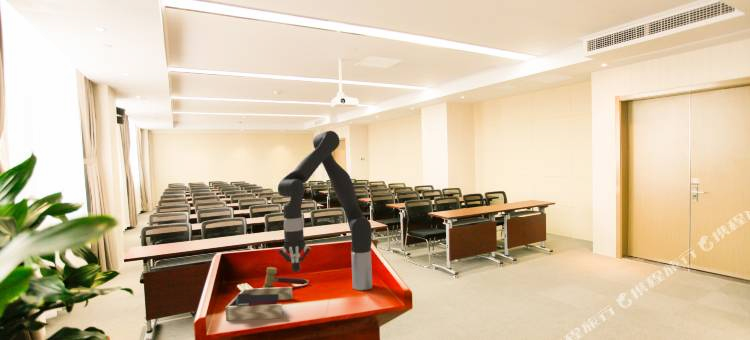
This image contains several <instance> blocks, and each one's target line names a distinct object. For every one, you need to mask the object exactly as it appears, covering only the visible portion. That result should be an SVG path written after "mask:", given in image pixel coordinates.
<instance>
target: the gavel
mask: <svg viewBox="0 0 750 340" xmlns="http://www.w3.org/2000/svg"><path fill="white" fill-rule="evenodd" d="M277 272H278V269H277V267H272V266H269V267H268V266H267V268H266V275H265V280H264V284H263V286H262V288H275V287H274V284H275V283H280V284H281V283H282V284H293V285H307V284H310V281H309V280H306V279H304V278H297V277H295V278H294V277H283V276H276V274H277Z"/></svg>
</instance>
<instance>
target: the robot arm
mask: <svg viewBox="0 0 750 340" xmlns="http://www.w3.org/2000/svg"><path fill="white" fill-rule="evenodd" d="M312 143H313V148H314V150H313V151H311V153H309V154H307V156H305V158H303V159H302V160H301V161H300V163H299V164H297V166H296V167H295V168H294V170H293V171H291V172H290V173H288V174H287V175H286V176H284V177H283V178H282V179H281V180H280V181H279V183H278V186H277V191H278V194H279V195H280V196H281V197H285V198H290V200H289V202H287V203H284V205H283V207H282V208H283V212H282V213H283V235H284V243H283V247H282V248H280V249H279V250H278V253H279V254H280V255H281V256H282V257H283V259H284V260H285V261H286V262H288V263H289V262H290V263H291V269H292V272H293V273H299V271H300V269H301V264H300V263H301V262H302V261H304V260H305V259H306V257H307V256H308V254H309V252H310V251H311V246H307V244H306V242H305V239H304V238H305V237H304V236H305V234H304V222H303V221H304V220H303V216H302V204H303V199H304V194H305V185H304V183H307V182H308V180H309V179H311V176H313V174H314V173H315V171H316V170H317V169H318V168H319V167H320V166H321V164H322V166H323V167H324V169H325V171H326V174H327V176H328V179H329V181H330V185H331V186H332V189H333V191H334V194H335V195H336V197H337V200H338V202H339V203H340V205H341V208H342V209H343V211H344V214H345V218H346V219H347V223H348V227H349V230H350V233H351V245H350V252H351V253H350V254H351V257H350V258H351V274H352V275H351V277H352V289H354V290H355V291H356V290H357V291H368V290H372V289H373V271H372V269H373V268H372V266H373V265H372V224H371V222H370V221H369V220H368V219H367V218H366V217H365V215H364V213H363V212H362V209H361V207H360V205H359V202H358V198H357V193H356V190H355V186H354V183H353V180H352V178H351V176H350V175H349V173H348V171H346V170H345V169H344V168H343V167H342V166H341V165H340V164H339V163H337V161H336V160H335V158H334V156H333V154H332V153H333V152H334V151H336V149H338V147H339V146H340V143H341V141H340V138H339V135H338V133H337V132H336V131H334V130H327V131H324V132H321V133H320V134H317V135H315V136H314V138H313V140H312ZM302 252H304V253H303V254H302V256H301V253H302Z"/></svg>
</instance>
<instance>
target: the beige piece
mask: <svg viewBox="0 0 750 340" xmlns="http://www.w3.org/2000/svg"><path fill="white" fill-rule="evenodd" d="M238 294H250V295H267V294H278V301H279V300H280V301H281V300H283V301H284V300H292V299H293V287H292V286H285V287H283V286H281V287H274V288H263V287H260V288H258V287H256V288H242V289H241V291H240V292H239V293H238ZM238 294H236V296H235V297H234V298H233V299H232V300H231V301H230V302H229V303H228V304H227V305H226V306H225V307H224V308H225V320H226V321H238V320H239V321H241V320H242V321H243V320H245V321H246V320H265V319H267V320H268V319H282V318H283V309H282V303H277V304H268V305H244V306H236V297H237V296H238Z"/></svg>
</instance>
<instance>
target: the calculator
mask: <svg viewBox="0 0 750 340" xmlns="http://www.w3.org/2000/svg"><path fill="white" fill-rule="evenodd" d="M237 295H238V296H237ZM237 295H236V296H237V297H236V296H235V297H236V306H244V305H268V304H278V303H279V300H278V294H267V295H250V294H239V293H238V294H237Z"/></svg>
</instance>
